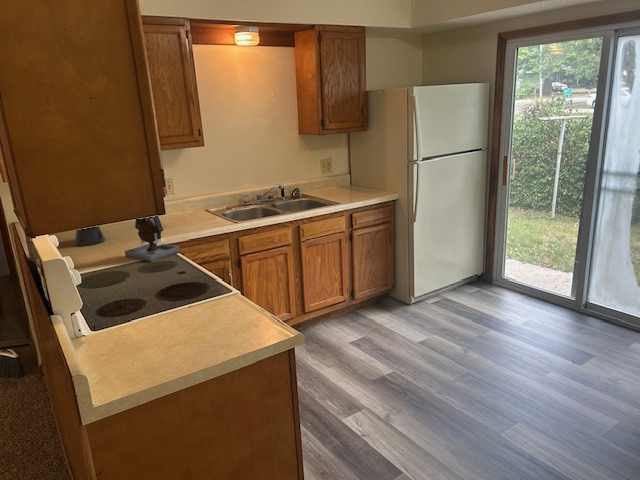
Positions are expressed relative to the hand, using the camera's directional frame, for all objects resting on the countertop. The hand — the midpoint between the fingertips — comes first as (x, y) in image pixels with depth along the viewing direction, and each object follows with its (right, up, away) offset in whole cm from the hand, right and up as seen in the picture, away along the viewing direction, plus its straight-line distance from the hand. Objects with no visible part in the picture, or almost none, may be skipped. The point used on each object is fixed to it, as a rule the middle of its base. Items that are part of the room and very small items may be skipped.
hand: (151, 244), depth 235 cm
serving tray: (0, -5, +1) cm, 5 cm away
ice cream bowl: (0, -3, +1) cm, 3 cm away
